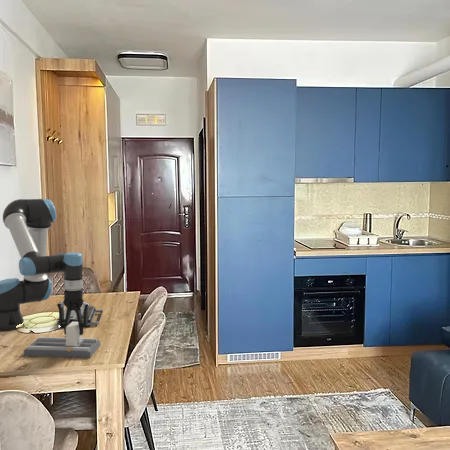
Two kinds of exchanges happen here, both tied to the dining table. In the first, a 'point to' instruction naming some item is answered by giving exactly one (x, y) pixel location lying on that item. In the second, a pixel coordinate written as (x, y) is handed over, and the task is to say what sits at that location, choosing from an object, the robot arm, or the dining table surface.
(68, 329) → the fader tab
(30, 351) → the grey slider base
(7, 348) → the dining table surface
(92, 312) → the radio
